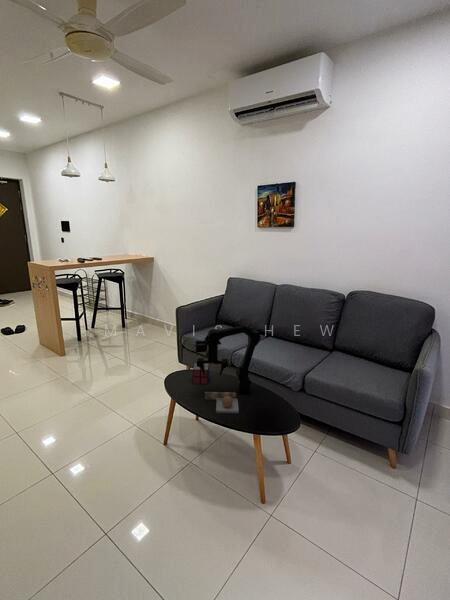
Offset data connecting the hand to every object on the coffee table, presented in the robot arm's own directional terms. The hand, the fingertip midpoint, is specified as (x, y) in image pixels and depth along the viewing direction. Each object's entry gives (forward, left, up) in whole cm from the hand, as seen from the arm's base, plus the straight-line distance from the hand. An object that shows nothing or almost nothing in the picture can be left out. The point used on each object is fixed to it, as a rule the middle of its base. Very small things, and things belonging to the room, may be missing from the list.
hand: (212, 375), depth 178 cm
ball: (-9, +14, -12) cm, 20 cm away
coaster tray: (-9, +14, -12) cm, 20 cm away
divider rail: (-5, +6, -12) cm, 14 cm away
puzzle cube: (+8, -17, -12) cm, 22 cm away
